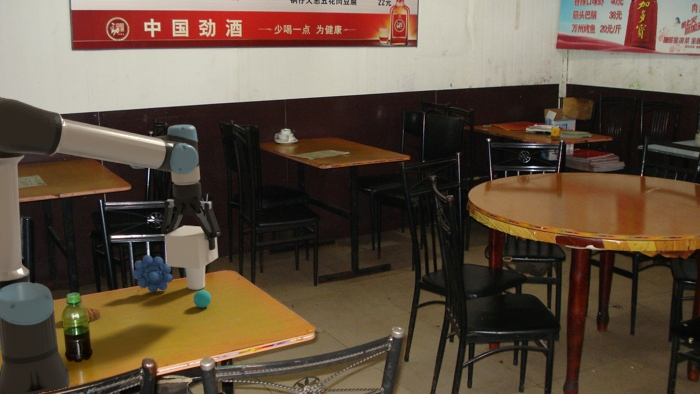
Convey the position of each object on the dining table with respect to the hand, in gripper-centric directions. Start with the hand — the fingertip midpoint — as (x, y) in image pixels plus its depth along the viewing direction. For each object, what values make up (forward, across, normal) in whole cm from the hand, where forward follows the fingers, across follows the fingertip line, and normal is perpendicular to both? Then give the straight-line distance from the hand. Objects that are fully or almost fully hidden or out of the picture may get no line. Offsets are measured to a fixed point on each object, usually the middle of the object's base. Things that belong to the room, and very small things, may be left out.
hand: (192, 259), depth 210 cm
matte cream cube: (+1, 0, 0) cm, 1 cm away
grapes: (+16, +21, -10) cm, 28 cm away
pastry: (+16, +29, +14) cm, 36 cm away
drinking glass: (+16, +11, -18) cm, 27 cm away
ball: (+13, 0, -4) cm, 14 cm away
